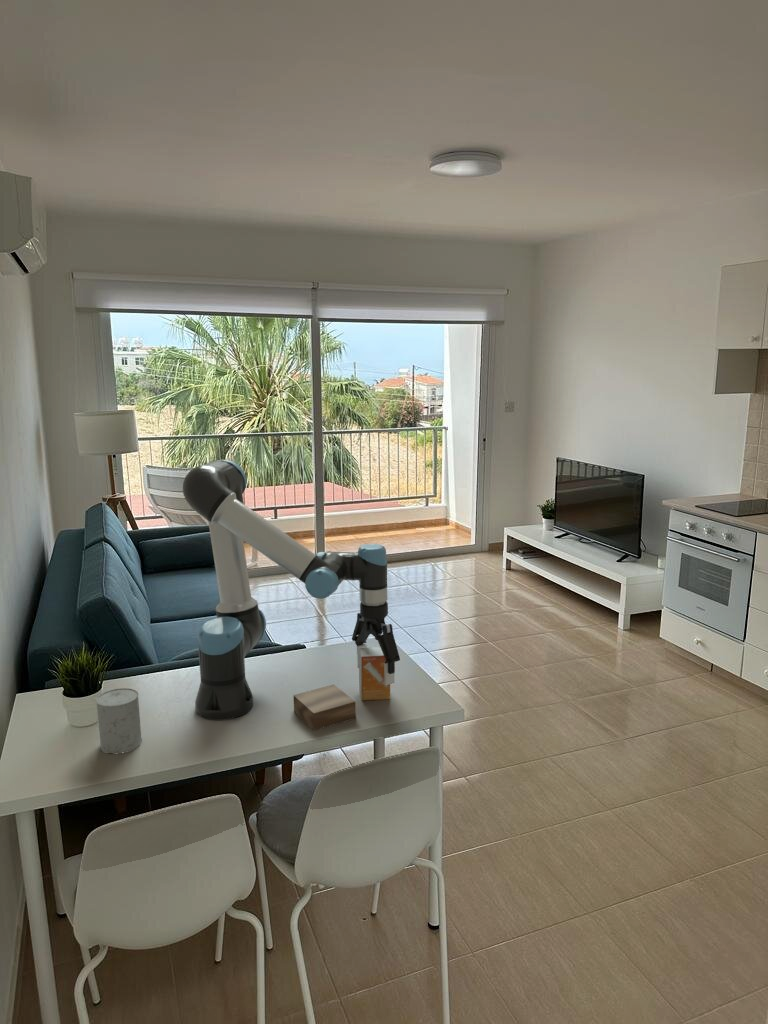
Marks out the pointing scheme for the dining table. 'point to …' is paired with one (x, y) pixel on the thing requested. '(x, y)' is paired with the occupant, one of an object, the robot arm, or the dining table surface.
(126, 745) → the grey marble cylinder
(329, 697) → the walnut block
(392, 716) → the dining table surface
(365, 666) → the small box
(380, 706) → the dining table surface
